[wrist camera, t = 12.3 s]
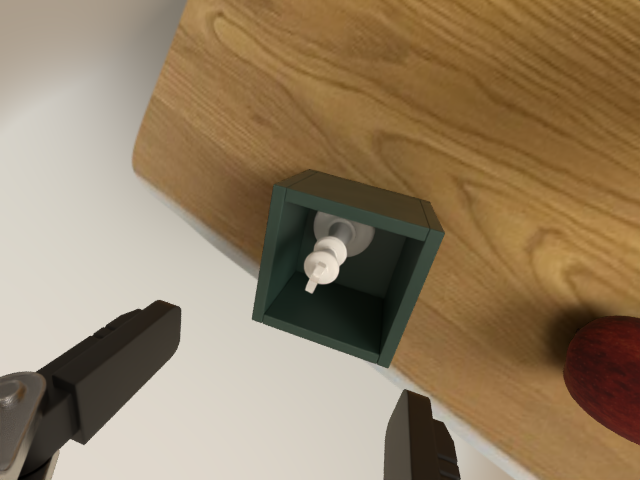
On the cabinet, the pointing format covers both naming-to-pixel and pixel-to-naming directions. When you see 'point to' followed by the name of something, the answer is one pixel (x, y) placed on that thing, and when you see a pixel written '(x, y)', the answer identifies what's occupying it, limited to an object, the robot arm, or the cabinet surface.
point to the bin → (346, 265)
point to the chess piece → (334, 247)
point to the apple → (607, 373)
